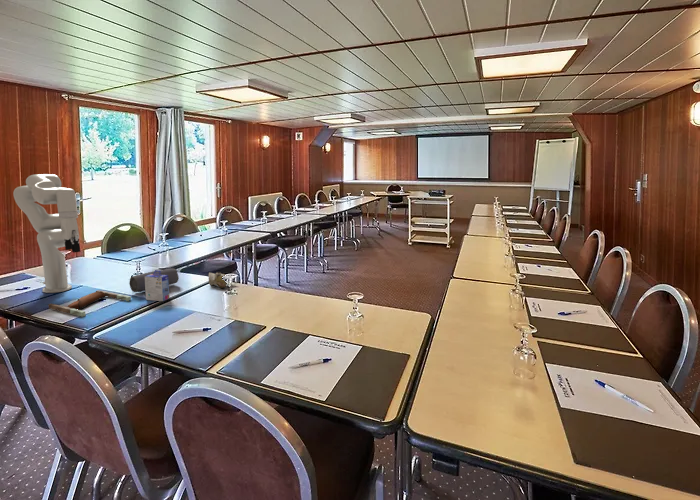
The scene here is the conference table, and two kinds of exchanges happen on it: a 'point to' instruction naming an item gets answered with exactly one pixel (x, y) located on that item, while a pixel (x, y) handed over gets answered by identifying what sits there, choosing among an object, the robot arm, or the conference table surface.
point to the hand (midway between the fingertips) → (72, 250)
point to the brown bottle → (86, 300)
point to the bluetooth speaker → (139, 280)
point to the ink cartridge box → (157, 287)
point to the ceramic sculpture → (217, 279)
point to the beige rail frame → (82, 313)
